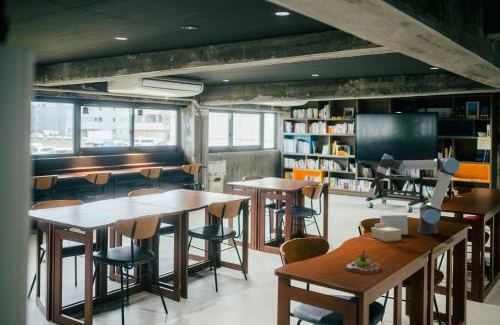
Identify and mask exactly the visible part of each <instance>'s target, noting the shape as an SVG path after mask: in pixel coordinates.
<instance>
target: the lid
mask: <svg viewBox="0 0 500 325" xmlns="http://www.w3.org/2000/svg"><path fill="white" fill-rule="evenodd" d="M370 231H371V232H372V231H375V232H378V233H381V234H385V233H386V232H397V231H401V233H402V230H401V229H398V228H394V227H391V226H386V223H380V222H379V223H374V226H373V227H372V226H371V227H370Z"/></svg>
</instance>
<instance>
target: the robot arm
mask: <svg viewBox="0 0 500 325" xmlns="http://www.w3.org/2000/svg"><path fill="white" fill-rule="evenodd" d="M388 169H391V170H394V171H397V172H398V173H402V174H403V173H404V172H405V170H407V171H408V170H409V171H410V170H435V171H438V173H439V176H438V179H437V182H436V185H435V187H434V189H433V192H432V195H431V198H430V201H429V202H428V203H426V204H421V205H420V206H419V225H418V228H417V233H418V234H422V235H436V234H438V229H437V226H436V225H437V224H436V223H438V222H439V221H440V218H441V212H442V210H443V209H442V207H441V206H442V203H443V200H444V198H445V196H446V194H447V190H448V187H449V185H450V183H451V180H452V179H453V178H455V175H456V173H457V172H458V171H459V170H460V162H459V161H458V160H457V159H455V158H454V157H448V156H447V157H441V158H440V157H439V158H434V159H423V160H422V159H420V160H417V159H416V160H413V159H412V160H396V159H394V156H393V155H389V154H387V153H384V154H383V155H382V157H381V160H380V163H379V165H378V166H377V170H376V172H375V174H374V175H375V177H374V178H373V180H372V182H371V184H370V185H369V186H370V188H369V190H368V192H367V196H370V197H371V199H374V200H375V199H376V198H377V195H378V193H379V192H380V191H381V186H382V183H383V179H385V177H386V174H387V173H388Z"/></svg>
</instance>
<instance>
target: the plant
mask: <svg viewBox="0 0 500 325" xmlns="http://www.w3.org/2000/svg"><path fill="white" fill-rule="evenodd" d="M366 253H367V250H366V249H365V250H363V251H362V254H361V255H360V254H358V255H357V256H355V257H356V259H354V261H352V262H351V263H347V264H345V271H347V272H353V273H359V274H366V275H372V274H376V273H379V272H380V271H381V270H382V265H381V264H379V263H377V262H372V260H371V259H372V257H371V256H370V255H366V256H365V254H366Z"/></svg>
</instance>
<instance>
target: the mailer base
mask: <svg viewBox="0 0 500 325" xmlns="http://www.w3.org/2000/svg"><path fill="white" fill-rule="evenodd" d="M371 237H372V238H373V239H375V240H376V239H377V240H379V241H382V242H386V243H388V242H397V241H398V242H399V241H401V240H402V235H401V231H397V232H386V233H385V234H381V233H378V232H375V231H372V230H371Z"/></svg>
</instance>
